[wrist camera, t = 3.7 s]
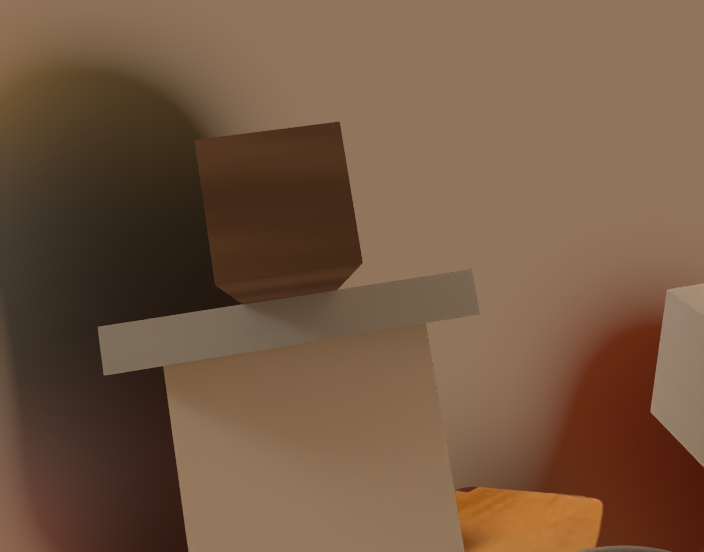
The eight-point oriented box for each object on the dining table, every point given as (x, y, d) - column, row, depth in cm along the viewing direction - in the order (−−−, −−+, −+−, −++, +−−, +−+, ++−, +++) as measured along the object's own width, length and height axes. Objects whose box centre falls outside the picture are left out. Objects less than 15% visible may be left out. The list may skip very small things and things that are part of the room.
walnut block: (362, 263, 17) (339, 121, 18) (215, 285, 17) (194, 140, 17) (319, 308, 45) (310, 253, 45) (262, 317, 45) (254, 261, 45)
